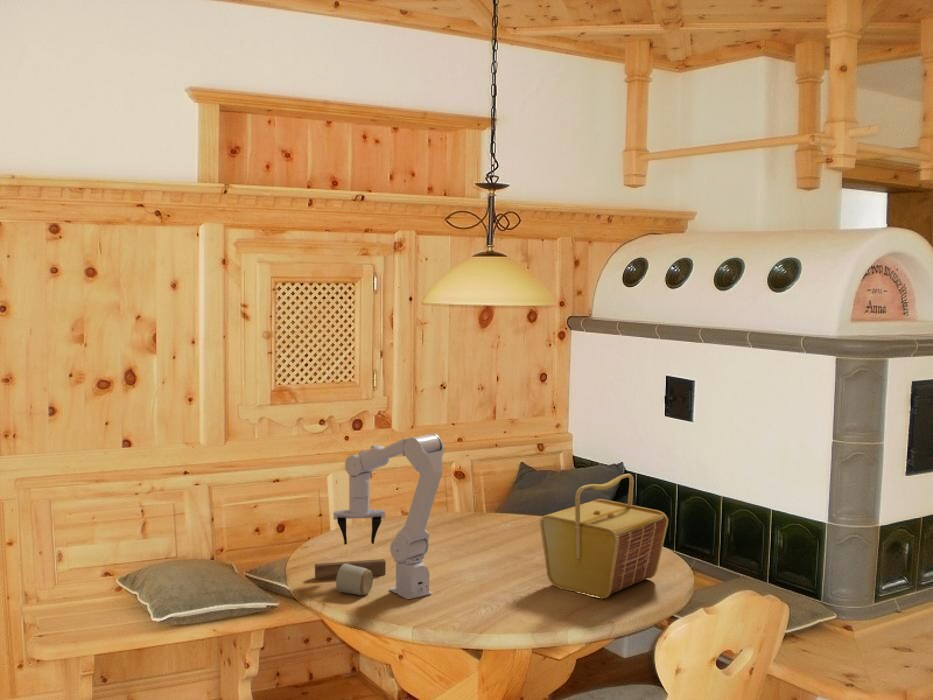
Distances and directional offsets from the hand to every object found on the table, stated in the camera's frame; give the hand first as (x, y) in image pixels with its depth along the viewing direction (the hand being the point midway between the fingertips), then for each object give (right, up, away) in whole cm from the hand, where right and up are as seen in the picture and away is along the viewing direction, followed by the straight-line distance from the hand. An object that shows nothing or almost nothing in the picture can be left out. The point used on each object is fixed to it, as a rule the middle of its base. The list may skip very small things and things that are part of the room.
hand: (359, 543), depth 285 cm
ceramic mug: (+1, -11, -12) cm, 16 cm away
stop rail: (-3, -10, +1) cm, 10 cm away
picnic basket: (+69, -12, 0) cm, 70 cm away
